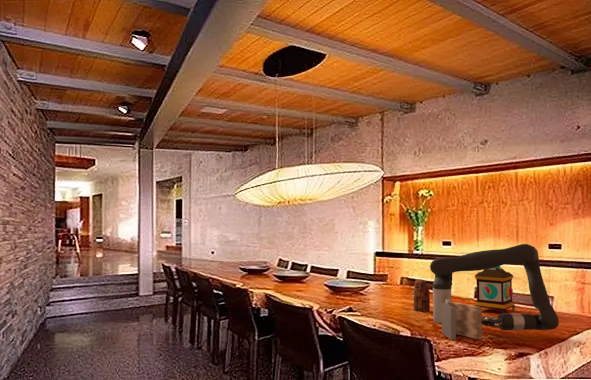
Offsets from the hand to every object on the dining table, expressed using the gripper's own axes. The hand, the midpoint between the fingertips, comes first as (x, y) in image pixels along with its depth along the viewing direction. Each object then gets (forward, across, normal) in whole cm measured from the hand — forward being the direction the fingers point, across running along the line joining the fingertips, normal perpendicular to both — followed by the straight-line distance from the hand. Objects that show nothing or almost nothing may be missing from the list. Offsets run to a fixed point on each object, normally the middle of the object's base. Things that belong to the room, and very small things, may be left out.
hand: (473, 321), depth 214 cm
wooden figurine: (+6, -64, +7) cm, 65 cm away
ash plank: (+3, -2, +7) cm, 8 cm away
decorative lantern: (-37, -63, +7) cm, 73 cm away
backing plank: (+9, -3, +7) cm, 12 cm away
